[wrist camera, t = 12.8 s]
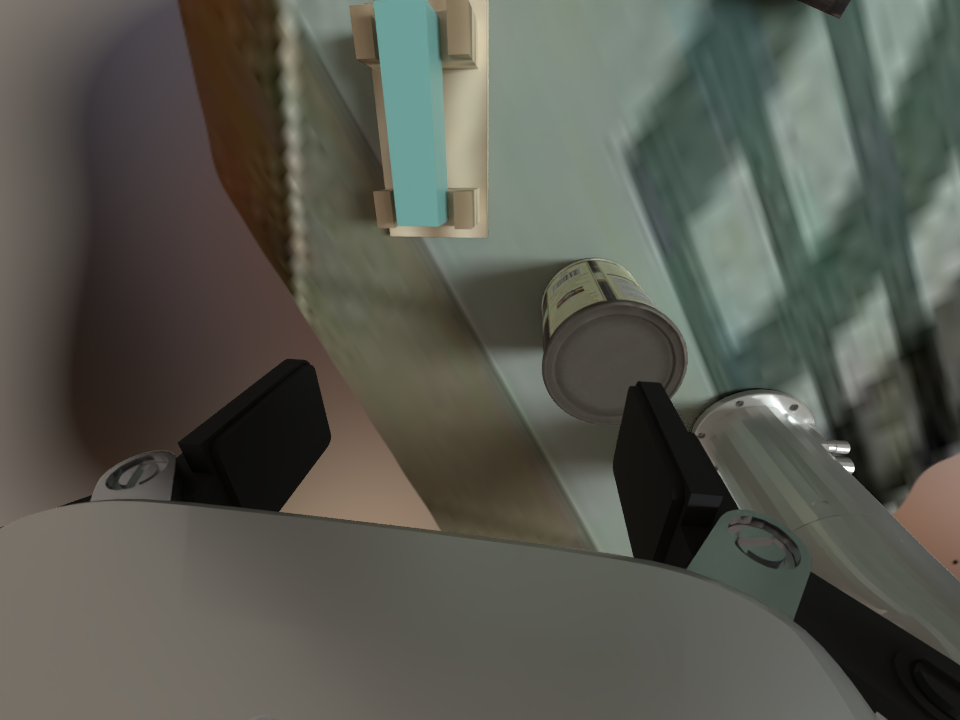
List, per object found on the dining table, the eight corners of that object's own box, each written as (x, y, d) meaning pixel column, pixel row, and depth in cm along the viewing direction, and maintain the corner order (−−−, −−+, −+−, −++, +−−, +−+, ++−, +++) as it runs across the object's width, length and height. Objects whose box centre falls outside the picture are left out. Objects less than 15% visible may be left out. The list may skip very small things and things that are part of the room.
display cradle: (488, 0, 30) (478, -34, 25) (488, 236, 38) (480, 247, 33) (369, 8, 31) (335, -23, 26) (393, 234, 39) (372, 245, 34)
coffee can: (605, 363, 43) (632, 444, 30) (524, 325, 42) (518, 392, 30) (662, 284, 38) (721, 343, 26) (572, 239, 37) (588, 277, 25)
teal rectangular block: (439, 18, 28) (425, -3, 24) (449, 219, 34) (438, 226, 31) (392, 21, 28) (371, 1, 24) (410, 219, 34) (395, 226, 31)
